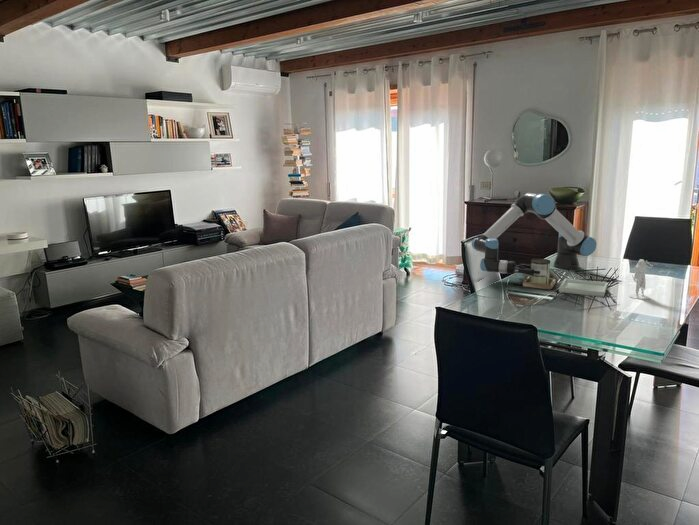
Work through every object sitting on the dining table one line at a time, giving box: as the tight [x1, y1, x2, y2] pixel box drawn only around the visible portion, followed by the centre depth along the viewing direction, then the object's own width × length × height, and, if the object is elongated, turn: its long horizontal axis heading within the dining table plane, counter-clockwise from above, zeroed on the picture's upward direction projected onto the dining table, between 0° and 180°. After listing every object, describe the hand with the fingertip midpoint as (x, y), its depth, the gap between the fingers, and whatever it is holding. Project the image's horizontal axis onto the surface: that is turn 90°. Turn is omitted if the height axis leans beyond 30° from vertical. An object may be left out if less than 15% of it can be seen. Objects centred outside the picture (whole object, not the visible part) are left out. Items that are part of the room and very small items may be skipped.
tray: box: [558, 278, 608, 298], centre depth 287 cm, size 22×22×2 cm
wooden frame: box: [522, 275, 557, 290], centre depth 298 cm, size 15×15×2 cm
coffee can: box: [529, 258, 551, 284], centre depth 297 cm, size 10×10×14 cm
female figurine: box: [628, 258, 654, 300], centre depth 268 cm, size 11×16×20 cm
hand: (548, 270), depth 295 cm, fingers closed on coffee can, 10 cm apart
